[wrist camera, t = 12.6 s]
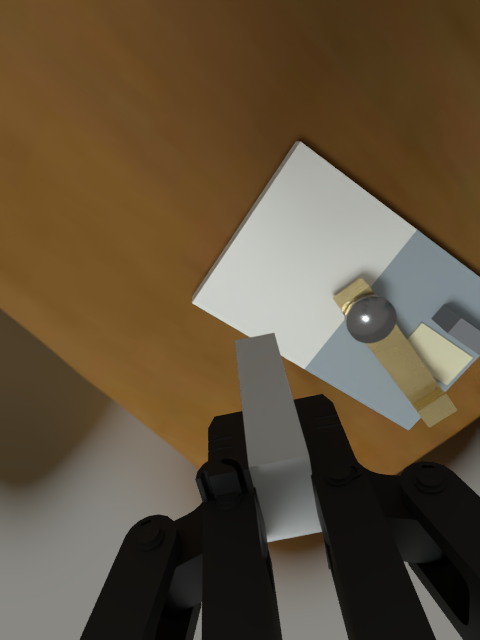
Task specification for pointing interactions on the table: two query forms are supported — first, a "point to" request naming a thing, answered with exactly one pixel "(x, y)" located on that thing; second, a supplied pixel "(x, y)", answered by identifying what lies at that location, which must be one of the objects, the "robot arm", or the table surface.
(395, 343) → the latch bar
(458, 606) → the robot arm
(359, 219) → the door fixture
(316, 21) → the table surface
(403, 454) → the table surface
